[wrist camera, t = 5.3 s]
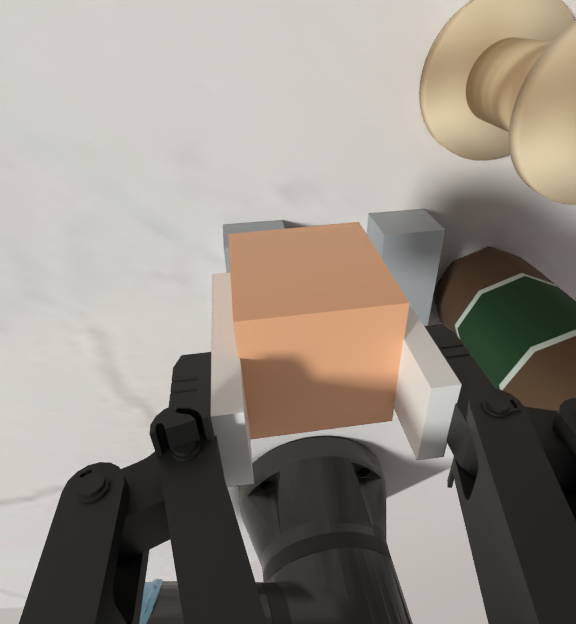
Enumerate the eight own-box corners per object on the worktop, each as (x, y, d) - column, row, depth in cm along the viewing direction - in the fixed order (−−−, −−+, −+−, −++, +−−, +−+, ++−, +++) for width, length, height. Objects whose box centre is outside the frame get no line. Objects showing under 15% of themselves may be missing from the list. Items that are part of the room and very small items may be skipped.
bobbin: (540, 150, 30) (665, 207, 22) (410, 159, 29) (488, 222, 21) (588, -16, 25) (775, -26, 17) (432, -11, 24) (547, -19, 16)
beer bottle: (509, 322, 38) (815, 655, 19) (422, 331, 38) (646, 686, 18) (536, 239, 34) (973, 561, 14) (438, 247, 33) (759, 598, 14)
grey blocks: (406, 324, 37) (422, 351, 34) (236, 341, 36) (238, 371, 33) (424, 209, 31) (445, 229, 28) (223, 224, 30) (224, 248, 27)
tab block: (352, 325, 18) (392, 420, 14) (241, 337, 18) (249, 439, 14) (358, 222, 15) (409, 302, 11) (228, 233, 15) (232, 321, 11)
